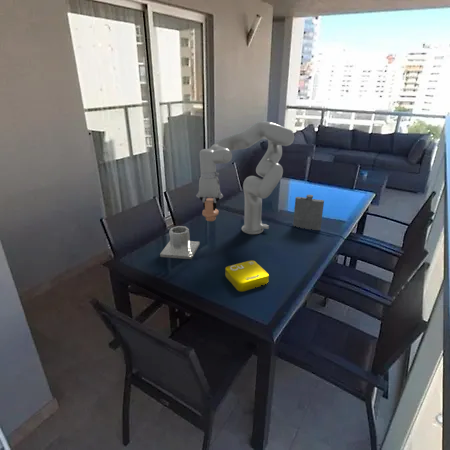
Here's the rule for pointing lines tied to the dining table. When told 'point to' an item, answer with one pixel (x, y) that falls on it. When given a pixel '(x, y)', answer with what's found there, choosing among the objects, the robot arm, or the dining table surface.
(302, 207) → the hip flask
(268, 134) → the robot arm
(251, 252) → the dining table surface
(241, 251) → the dining table surface
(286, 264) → the dining table surface
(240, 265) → the element tile
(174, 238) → the hex socket plate
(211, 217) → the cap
